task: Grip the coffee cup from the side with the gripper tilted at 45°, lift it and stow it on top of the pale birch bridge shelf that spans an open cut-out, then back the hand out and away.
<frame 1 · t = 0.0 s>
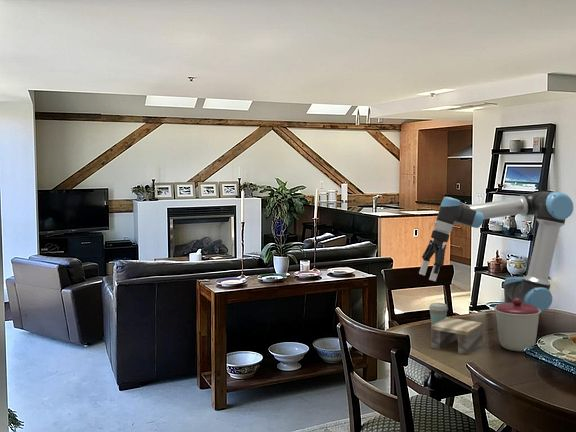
hand: (426, 277, 244), 28 cm above the table, tool tilted 20°, fingers open, 13 cm apart
canister: (517, 348, 231), on the table
bridge shelf: (457, 346, 236), on the table
coffee cup: (438, 330, 261), on the table
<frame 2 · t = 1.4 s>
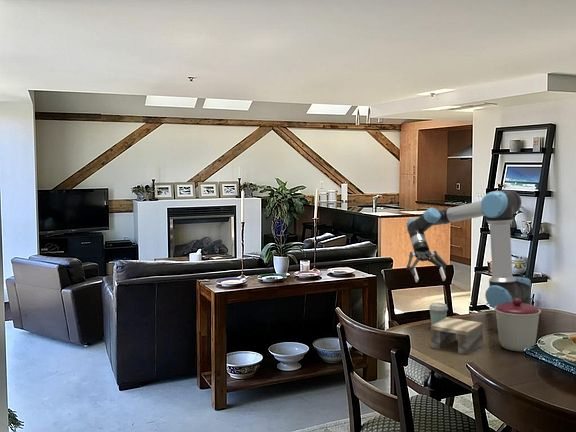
hand: (430, 280, 268), 22 cm above the table, tool tilted 45°, fingers open, 13 cm apart
nothing on the table moved.
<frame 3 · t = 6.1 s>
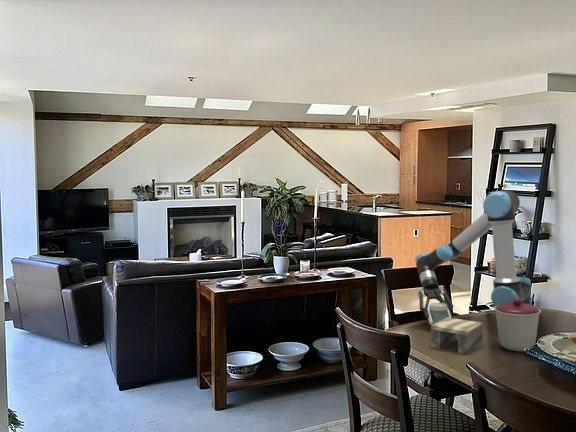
hand: (440, 322, 257), 4 cm above the table, tool tilted 45°, fingers closed on coffee cup, 8 cm apart
coffee cup: (438, 330, 261), on the table, touching gripper
everything else where it was.
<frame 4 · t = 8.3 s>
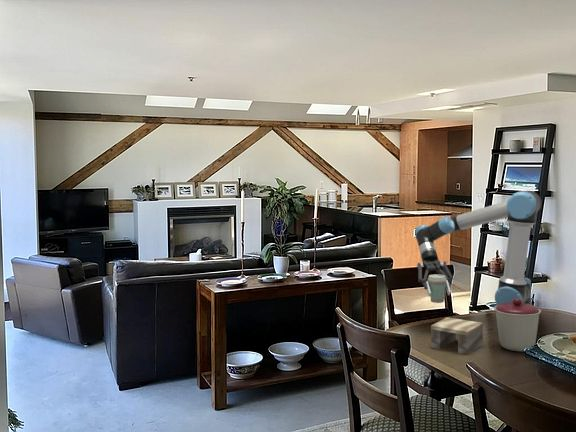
hand: (439, 294, 253), 18 cm above the table, tool tilted 45°, fingers closed on coffee cup, 8 cm apart
coffee cup: (437, 301, 256), point 14 cm above the table, touching gripper
everything else where it was.
when the fingers open (15 cm above the table, at t = 11.0 s): coffee cup drops 1 cm, resting on bridge shelf.
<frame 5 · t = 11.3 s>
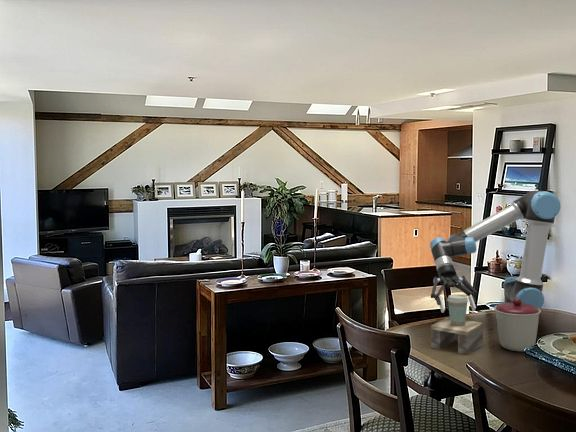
hand: (458, 310, 232), 16 cm above the table, tool tilted 45°, fingers open, 13 cm apart
coffee cup: (457, 324, 235), point 9 cm above the table, touching bridge shelf
everything else where it was.
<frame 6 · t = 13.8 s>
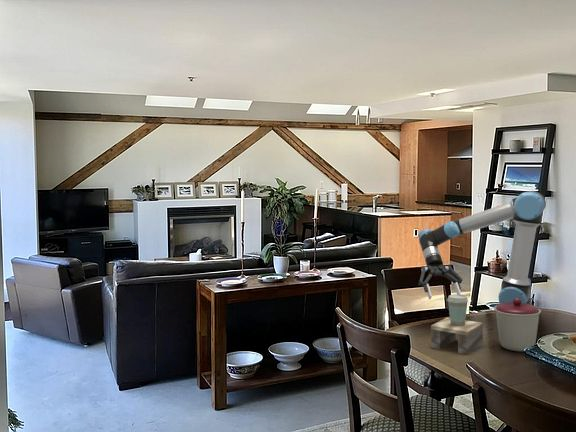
hand: (445, 296, 249), 18 cm above the table, tool tilted 45°, fingers open, 13 cm apart
nothing on the table moved.
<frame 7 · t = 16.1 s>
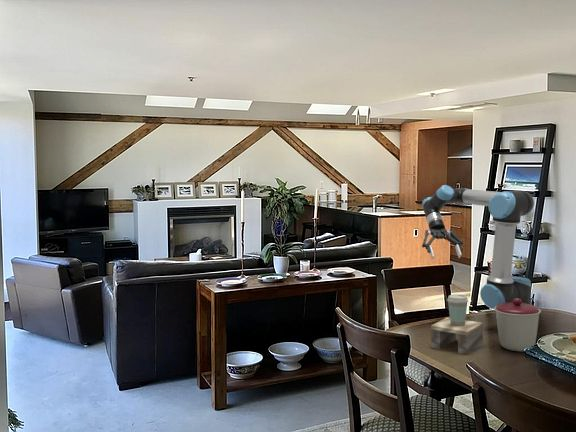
hand: (446, 257, 268), 33 cm above the table, tool tilted 45°, fingers open, 13 cm apart
nothing on the table moved.
at the end: coffee cup inside the target area on the bridge shelf (0.4 cm from its centre), point 9.3 cm above the bridge shelf's base; coffee cup tilted 0°; the gripper is holding nothing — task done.
